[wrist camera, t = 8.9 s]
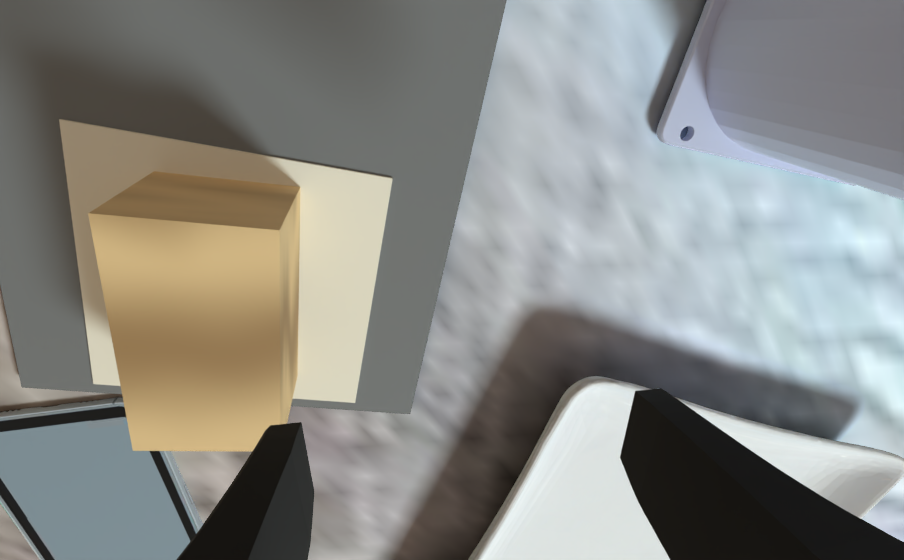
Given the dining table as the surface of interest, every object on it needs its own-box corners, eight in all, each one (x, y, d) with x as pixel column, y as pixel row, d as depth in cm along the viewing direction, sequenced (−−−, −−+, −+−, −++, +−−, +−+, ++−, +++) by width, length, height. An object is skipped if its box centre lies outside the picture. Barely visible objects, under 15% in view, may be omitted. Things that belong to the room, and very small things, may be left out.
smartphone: (143, 398, 19) (236, 611, 26) (152, 385, 20) (239, 595, 27) (-58, 424, 19) (91, 636, 26) (-41, 409, 19) (99, 619, 26)
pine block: (297, 376, 20) (280, 451, 16) (178, 372, 19) (133, 450, 15) (300, 186, 16) (279, 230, 13) (153, 171, 15) (87, 213, 12)
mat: (535, -139, 13) (541, -145, 13) (409, 408, 22) (410, 415, 22) (-123, -367, 10) (-145, -385, 10) (28, 380, 19) (20, 388, 18)
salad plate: (869, 420, 28) (929, 468, 25) (668, 630, 36) (694, 685, 33) (556, 329, 22) (586, 377, 19) (398, 606, 30) (400, 671, 27)
